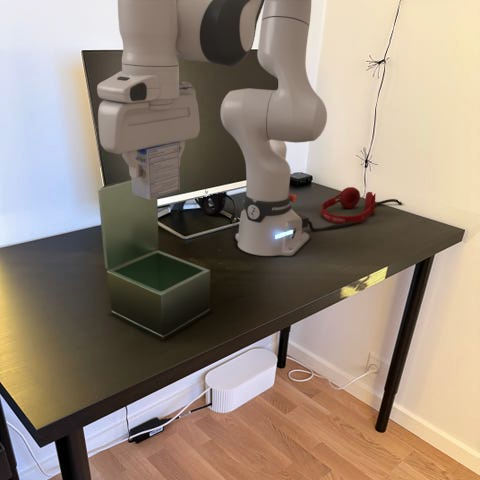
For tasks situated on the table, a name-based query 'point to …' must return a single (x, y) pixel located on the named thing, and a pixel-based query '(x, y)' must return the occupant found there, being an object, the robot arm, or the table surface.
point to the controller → (217, 201)
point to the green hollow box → (159, 293)
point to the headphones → (349, 206)
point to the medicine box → (157, 171)
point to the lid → (126, 223)
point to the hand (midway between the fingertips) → (155, 171)
